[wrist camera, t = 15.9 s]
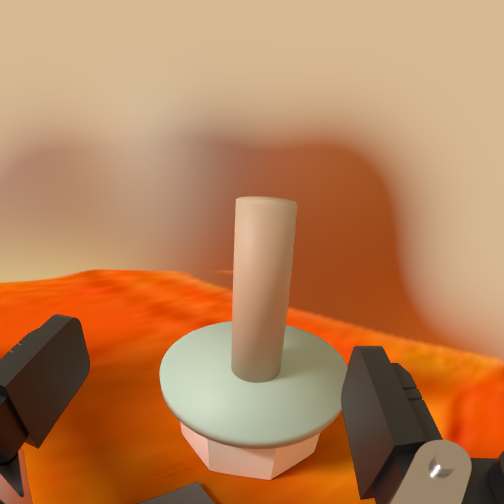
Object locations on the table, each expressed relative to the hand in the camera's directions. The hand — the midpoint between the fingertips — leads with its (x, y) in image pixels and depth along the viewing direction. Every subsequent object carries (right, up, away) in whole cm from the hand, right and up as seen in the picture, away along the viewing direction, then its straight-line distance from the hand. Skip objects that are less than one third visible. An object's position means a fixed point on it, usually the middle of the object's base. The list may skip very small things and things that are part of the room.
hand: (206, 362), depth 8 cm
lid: (+1, -6, +14) cm, 16 cm away
